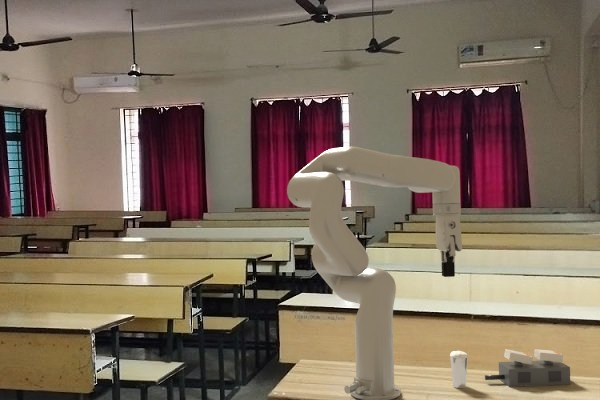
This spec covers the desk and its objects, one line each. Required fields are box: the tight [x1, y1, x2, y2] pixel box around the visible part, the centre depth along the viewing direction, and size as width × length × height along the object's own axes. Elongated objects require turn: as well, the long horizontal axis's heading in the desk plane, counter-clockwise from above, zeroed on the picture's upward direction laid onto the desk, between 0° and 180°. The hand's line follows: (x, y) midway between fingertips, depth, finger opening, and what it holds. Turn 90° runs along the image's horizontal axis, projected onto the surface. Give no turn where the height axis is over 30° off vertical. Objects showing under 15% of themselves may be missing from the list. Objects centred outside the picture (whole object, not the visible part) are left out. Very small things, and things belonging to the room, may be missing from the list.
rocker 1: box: [503, 348, 534, 364], centre depth 157 cm, size 6×4×2 cm, turn 92°
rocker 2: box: [533, 348, 564, 363], centre depth 158 cm, size 6×4×2 cm, turn 92°
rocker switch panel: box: [484, 360, 571, 388], centre depth 157 cm, size 21×7×5 cm, turn 92°
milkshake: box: [449, 348, 472, 389], centre depth 155 cm, size 4×5×10 cm
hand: (448, 276), depth 166 cm, fingers closed
